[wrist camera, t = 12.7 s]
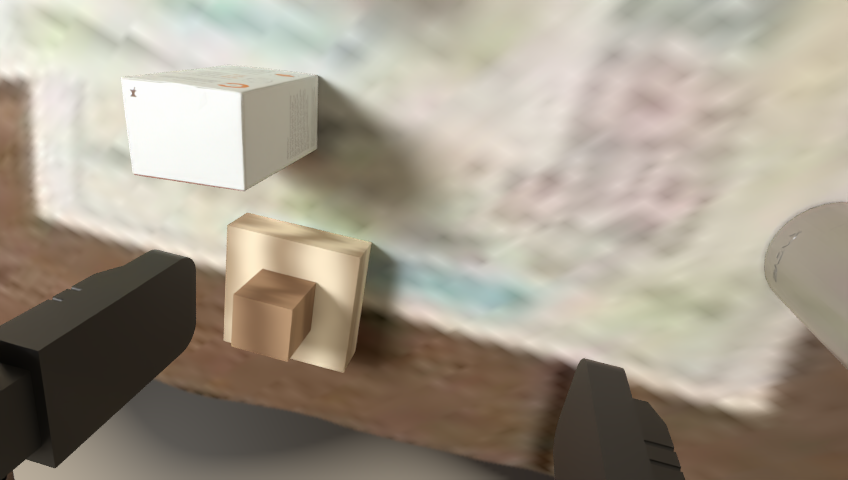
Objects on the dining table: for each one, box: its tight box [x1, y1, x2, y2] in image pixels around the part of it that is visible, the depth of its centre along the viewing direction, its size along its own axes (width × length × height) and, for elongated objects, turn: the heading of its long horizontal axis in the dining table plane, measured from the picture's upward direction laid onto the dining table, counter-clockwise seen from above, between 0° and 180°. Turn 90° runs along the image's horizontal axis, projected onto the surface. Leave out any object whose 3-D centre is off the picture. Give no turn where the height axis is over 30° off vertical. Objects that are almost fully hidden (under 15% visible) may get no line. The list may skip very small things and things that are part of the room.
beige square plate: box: [224, 213, 372, 373], centre depth 49 cm, size 12×12×4 cm
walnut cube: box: [231, 269, 316, 362], centre depth 45 cm, size 5×5×5 cm
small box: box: [121, 65, 318, 191], centre depth 38 cm, size 8×6×13 cm
